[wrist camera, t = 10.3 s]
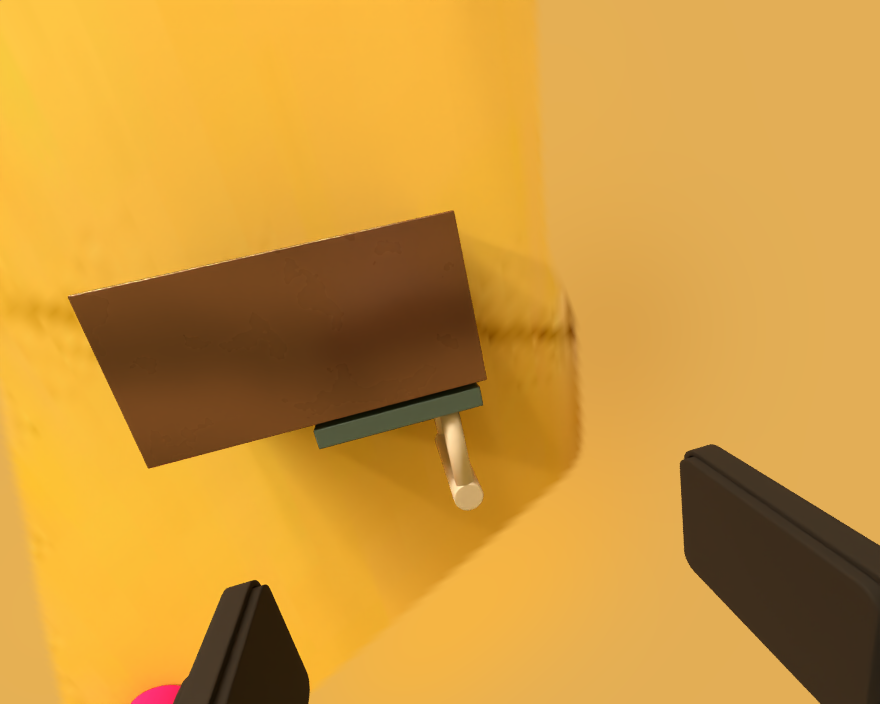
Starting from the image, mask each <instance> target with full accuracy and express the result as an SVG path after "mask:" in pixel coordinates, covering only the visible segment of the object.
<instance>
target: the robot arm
mask: <svg viewBox="0 0 880 704" xmlns="http://www.w3.org/2000/svg"><path fill="white" fill-rule="evenodd" d="M680 476H681V477H680V478H681V495H682V515H683V534H684V552H685V556H686V559H687V561H688V563H689V565H690V567H691V568H692V569H693V570H694V572H695V573H696V574H697V575H698V576H699V577H700V578H701V579H702V580H703V581H704V582H705V583H706V584H707V585H708V586H709V587H710V588H711V589H712V590H713V591H714V593H715V594H716V595H717V596H718V597H719V598H720V599H721V600H722V601H723V602H724V603H725V604H726V605H727V606H728V607H729V608H730V609H731V610H732V611H733V613H734V614H735V615H736V616H737V617H738V618H739V619H740V620H741V621H742V622H743V623H744V624H745V625H746V626H747V627H748V628H749V629H750V630H751V631H752V632H753V633H754V634H755V636H756V637H758V639H759V640H760V641H761V642H762V643H763V644H764V645H765V646H766V647H767V648H768V649H769V650H770V651H771V652H772V653H773V654H774V655H775V656H776V658H778V660H780V662H781V663H782V664H783V665H784V666H785V667H786V668H787V669H788V670H789V671H790V672H791V673H792V674H793V675H794V676H795V677H796V678H797V680H799V682H800V683H801V684H802V685H803V686H804V687H805V688H806V689H807V690H808V691H809V692H810V693H811V694H812V695H813V696H814V697H815V698H816V699H817V700H818V701H819V702H820V704H880V546H879V545H878V544H876V543H875V542H873V541H871V540H870V539H868V538H866V537H865V536H863V535H862V534H860V533H858V532H857V531H855V530H853V529H852V528H850V527H849V526H847V525H845V524H844V523H842V522H840V521H839V520H837V519H836V518H834V517H832V516H831V515H829V514H827V513H826V512H824V511H823V510H821V509H819V508H818V507H816V506H814V505H813V504H811V503H809V502H808V501H806V500H805V499H803V498H801V497H800V496H798V495H797V494H795V493H793V492H791V491H790V490H788V489H787V488H785V487H784V486H782V485H780V484H779V483H777V482H775V481H774V480H772V479H770V478H769V477H767V476H766V475H764V474H762V473H761V472H759V471H757V470H756V469H754V468H753V467H751V466H749V465H748V464H746V463H744V462H743V461H741V460H740V459H738V458H736V457H735V456H733V455H731V454H730V453H728V452H727V451H725V450H723V449H722V448H720V447H718V446H716V445H711V444H710V445H707V446H704V447H700V448H697V449H693V450H690V451H688V452H686V454H685V456H684V460H682V461H681V462H680ZM309 693H310V686H309V678H308V674H307V672H306V669H305V667H304V665H303V662H302V660H301V658H300V656H299V653H298V651H297V649H296V647H295V644H294V642H293V640H292V638H291V635H290V633H289V631H288V628H287V626H286V624H285V622H284V619H283V617H282V615H281V613H280V610H279V608H278V606H277V603H276V601H275V599H274V597H273V594H272V592H271V590H270V588H269V586H268V585H262V586H261V585H260V583H259V582H258V581H257V580H253V581H249V582H246V583H243V584H239V585H236V586H232V587H229V588H227V589H226V590H225V591H224V592H223V594H222V596H221V599H220V601H219V603H218V606H217V608H216V611H215V613H214V616H213V618H212V620H211V623H210V625H209V628H208V630H207V633H206V635H205V637H204V640H203V642H202V645H201V647H200V650H199V652H198V654H197V657H196V659H195V662H194V664H193V667H192V669H191V671H190V674H189V676H188V677H187V678H186V679H185V680H184V681H183V683H182V685H181V687H180V688H179V690H178V692H177V695H176V697H175V699H174V702H173V704H308V702H309Z"/></svg>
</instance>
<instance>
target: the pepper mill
mask: <svg viewBox="0 0 880 704" xmlns="http://www.w3.org/2000/svg"><path fill="white" fill-rule="evenodd" d="M180 687H181V686H178V685H164V686H159V687H155V688H152V689H150V690H148V691H145V692H143V693H142V694H141V695H139V696H138V697H137V698H135V699H134V700H133V701H132V703H131V704H173V702H174V699H175V697H176V695H177V692H178V690H179V688H180Z"/></svg>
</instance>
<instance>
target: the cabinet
mask: <svg viewBox="0 0 880 704" xmlns="http://www.w3.org/2000/svg"><path fill="white" fill-rule="evenodd" d="M68 299H69V301H70V303H71V305H72V307H73V309H74V312H75V314H76V316H77V318H78V320H79V322H80V324H81V326H82V329H83V331H84V333H85V335H86V337H87V339H88V341H89V343H90V346H91V348H92V350H93V352H94V354H95V356H96V358H97V360H98V363H99V365H100V367H101V369H102V371H103V373H104V375H105V378H106V380H107V382H108V384H109V386H110V388H111V390H112V392H113V395H114V397H115V399H116V401H117V403H118V405H119V407H120V409H121V412H122V414H123V416H124V418H125V420H126V422H127V424H128V427H129V429H130V431H131V433H132V435H133V437H134V439H135V441H136V444H137V446H138V448H139V450H140V452H141V454H142V456H143V458H144V461H145V463H146V465H147V467H148V468H153V467H157V466H160V465H164V464H168V463H172V462H176V461H179V460H183V459H187V458H191V457H195V456H198V455H202V454H206V453H210V452H214V451H217V450H221V449H225V448H229V447H233V446H236V445H240V444H244V443H248V442H252V441H255V440H259V439H263V438H267V437H271V436H274V435H278V434H282V433H286V432H290V431H293V430H297V429H301V428H305V427H309V426H312V425H316V424H320V423H324V422H328V421H331V420H335V419H339V418H343V417H347V416H350V415H354V414H358V413H362V412H366V411H369V410H373V409H377V408H381V407H385V406H388V405H392V404H396V403H400V402H403V401H407V400H411V399H415V398H419V397H422V396H426V395H430V394H434V393H438V392H441V391H445V390H449V389H453V388H457V387H460V386H464V385H468V384H472V383H476V382H479V381H483V380H486V379H487V377H486V372H485V367H484V362H483V357H482V351H481V346H480V341H479V336H478V331H477V326H476V321H475V316H474V311H473V305H472V300H471V295H470V290H469V285H468V280H467V275H466V270H465V265H464V260H463V254H462V249H461V244H460V239H459V234H458V229H457V224H456V219H455V214H454V211H448V212H443V213H439V214H434V215H430V216H425V217H421V218H416V219H412V220H407V221H403V222H398V223H394V224H389V225H385V226H380V227H376V228H371V229H367V230H362V231H358V232H353V233H349V234H344V235H340V236H335V237H331V238H326V239H322V240H317V241H313V242H308V243H304V244H299V245H295V246H290V247H286V248H281V249H277V250H272V251H268V252H263V253H259V254H254V255H250V256H245V257H241V258H236V259H232V260H227V261H223V262H218V263H214V264H209V265H205V266H200V267H195V268H191V269H186V270H182V271H177V272H173V273H168V274H164V275H159V276H155V277H150V278H146V279H141V280H137V281H132V282H128V283H123V284H119V285H114V286H110V287H105V288H101V289H96V290H92V291H87V292H83V293H78V294H74V295H69V296H68Z"/></svg>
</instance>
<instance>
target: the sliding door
mask: <svg viewBox="0 0 880 704" xmlns="http://www.w3.org/2000/svg"><path fill="white" fill-rule="evenodd" d="M482 405H483V401H482V396H481V391H480V387H479V386H478V385H477V383H472V384H468V385H464V386H460V387H457V388H453V389H449V390H445V391H441V392H438V393H434V394H430V395H426V396H422V397H419V398H415V399H411V400H407V401H403V402H400V403H396V404H392V405H388V406H385V407H381V408H377V409H373V410H369V411H366V412H362V413H358V414H354V415H350V416H347V417H343V418H339V419H335V420H331V421H328V422H324V423H320V424H316V425H315V429H314V434H315V437H316V440H317V443H318V446H319V449H322V448H326V447H330V446H333V445H337V444H341V443H345V442H348V441H352V440H356V439H359V438H363V437H367V436H371V435H374V434H378V433H382V432H385V431H389V430H393V429H397V428H400V427H404V426H408V425H411V424H415V423H419V422H423V421H426V420H430V419H435V423H436V427H437V431H438V433H437V435H436V437H435V442H436V445H437V449H438V452H439V455H440V458H441V461H442V464H443V467H444V470H445V473H446V477H447V480H448V483H449V486H450V489H451V492H452V495H453V498H454V501H455V504H456V505H457V507H459V508H460V509H462V510H472V509H475V508H477V507H478V506H479V505H480V504H481V502H482V500H483V496H484V494H483V490H482V488H481V486H480V484H479V482H478V479H477V477H476V475H475V473H474V470H473V468H472V466H471V464H470V460H469V456H468V451H467V447H466V442H465V438H464V433H463V429H462V424H461V420H460V415H459V412H460V411H463V410H467V409H471V408H475V407H478V406H482Z"/></svg>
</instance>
